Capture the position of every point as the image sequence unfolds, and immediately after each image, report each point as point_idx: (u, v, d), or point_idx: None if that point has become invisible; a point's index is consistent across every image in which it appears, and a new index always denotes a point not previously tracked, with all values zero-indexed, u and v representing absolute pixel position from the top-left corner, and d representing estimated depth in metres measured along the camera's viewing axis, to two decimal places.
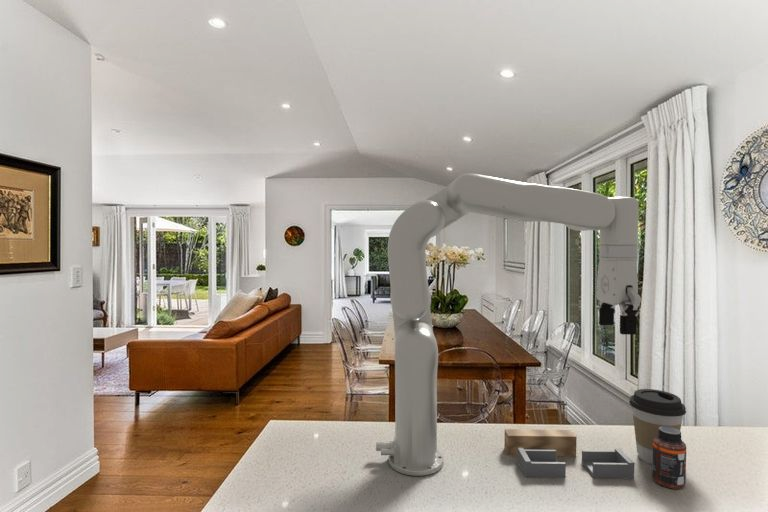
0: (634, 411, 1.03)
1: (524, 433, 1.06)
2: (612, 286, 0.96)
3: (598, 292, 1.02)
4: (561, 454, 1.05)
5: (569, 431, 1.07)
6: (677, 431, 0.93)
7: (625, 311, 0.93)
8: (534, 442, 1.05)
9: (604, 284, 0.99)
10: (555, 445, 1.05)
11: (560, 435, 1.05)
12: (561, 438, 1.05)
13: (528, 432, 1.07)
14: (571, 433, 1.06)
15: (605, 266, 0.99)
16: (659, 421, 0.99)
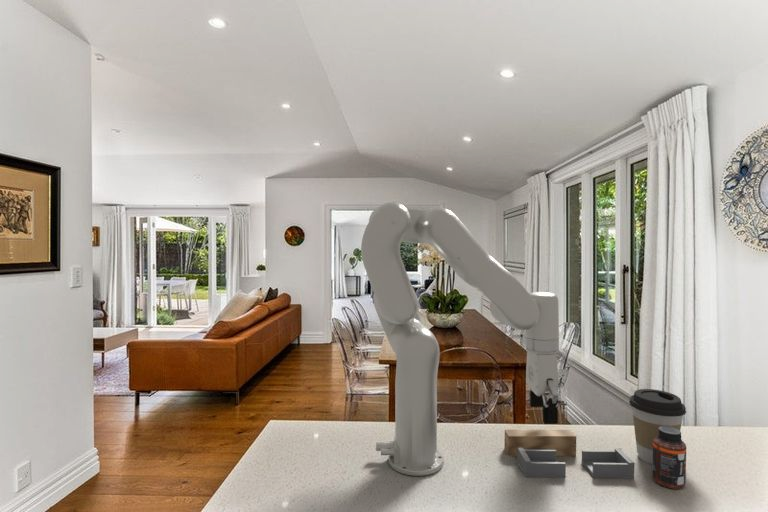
0: (634, 411, 1.03)
1: (524, 433, 1.06)
2: (535, 378, 1.03)
3: (527, 378, 1.09)
4: (561, 454, 1.05)
5: (569, 431, 1.08)
6: (677, 431, 0.93)
7: (546, 403, 1.00)
8: (534, 442, 1.05)
9: (530, 373, 1.06)
10: (556, 445, 1.05)
11: (560, 435, 1.05)
12: (561, 438, 1.05)
13: (528, 432, 1.07)
14: (571, 433, 1.06)
15: (530, 357, 1.06)
16: (659, 421, 0.99)
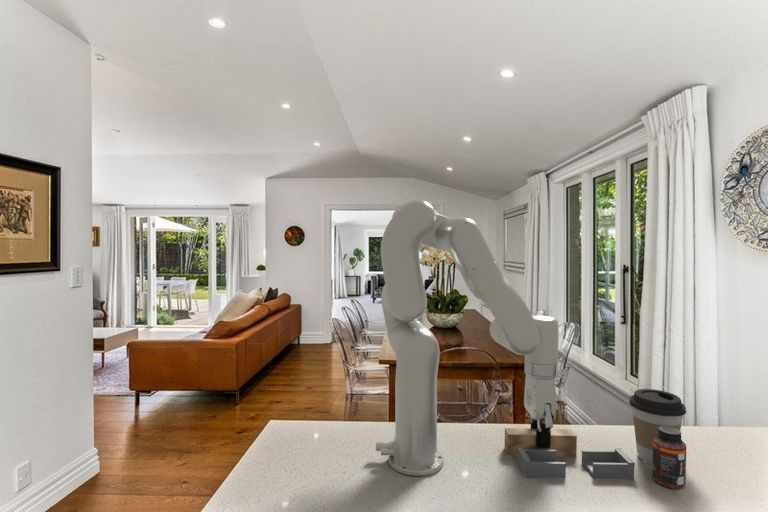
0: (634, 411, 1.03)
1: (524, 432, 1.06)
2: (533, 402, 1.03)
3: (525, 400, 1.10)
4: (561, 453, 1.05)
5: (569, 430, 1.07)
6: (677, 431, 0.93)
7: (540, 429, 1.03)
8: (534, 441, 1.05)
9: (528, 396, 1.07)
10: (556, 444, 1.05)
11: (560, 434, 1.05)
12: (561, 438, 1.05)
13: (528, 431, 1.07)
14: (571, 432, 1.06)
15: (529, 380, 1.06)
16: (659, 420, 0.99)
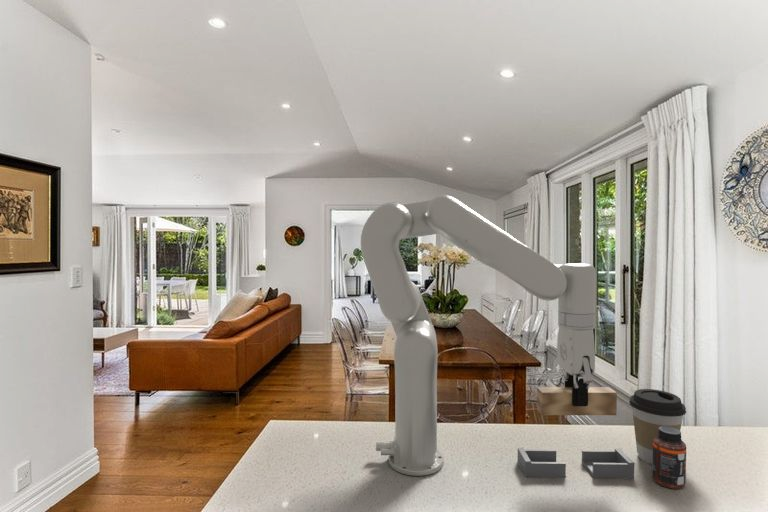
0: (634, 411, 1.03)
1: (559, 390, 0.98)
2: (569, 355, 0.94)
3: (558, 357, 1.01)
4: (600, 412, 0.96)
5: (607, 388, 0.99)
6: (677, 431, 0.93)
7: (577, 385, 0.95)
8: (570, 399, 0.96)
9: (562, 351, 0.98)
10: (594, 403, 0.96)
11: (599, 392, 0.96)
12: (600, 395, 0.96)
13: (563, 389, 0.98)
14: (610, 390, 0.98)
15: (563, 333, 0.97)
16: (659, 421, 0.99)
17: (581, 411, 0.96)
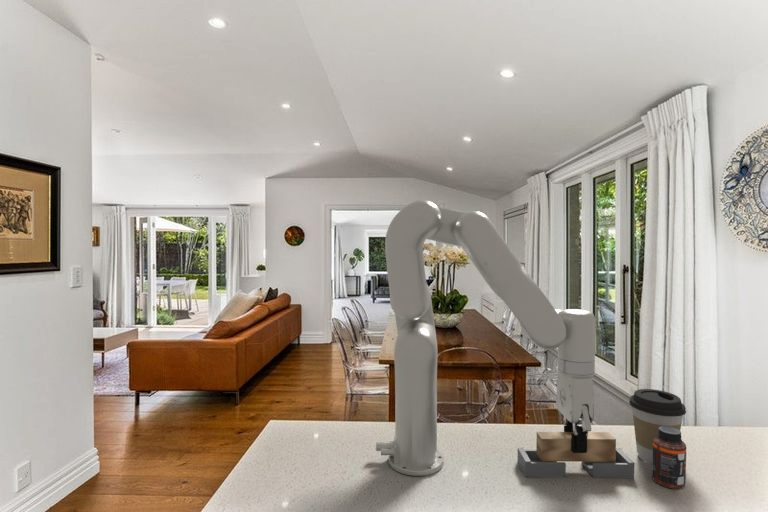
0: (634, 411, 1.03)
1: (558, 436, 0.98)
2: (569, 403, 0.95)
3: (557, 401, 1.01)
4: (599, 459, 0.97)
5: (607, 433, 0.99)
6: (677, 431, 0.93)
7: (576, 433, 0.95)
8: (570, 445, 0.97)
9: (562, 397, 0.98)
10: (593, 449, 0.97)
11: (598, 438, 0.97)
12: (599, 441, 0.97)
13: (562, 435, 0.99)
14: (609, 435, 0.98)
15: (562, 379, 0.98)
16: (659, 420, 0.99)
17: (580, 457, 0.97)
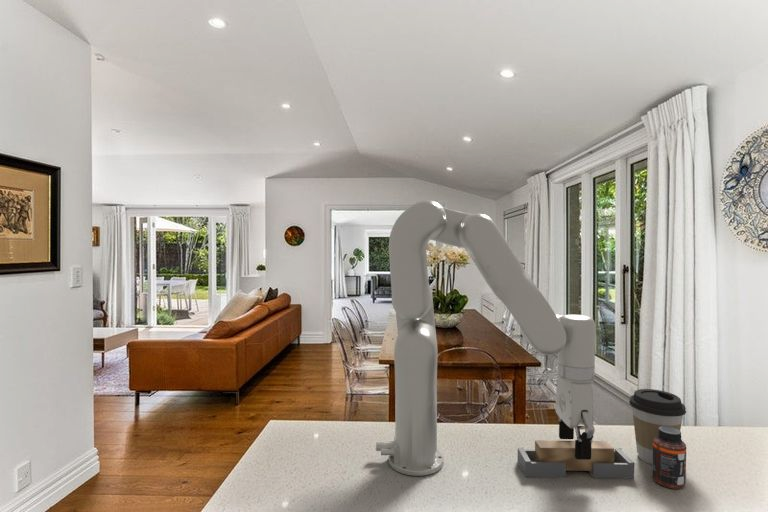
0: (634, 411, 1.03)
1: (557, 445, 0.98)
2: (568, 408, 0.95)
3: (557, 406, 1.01)
4: None
5: (605, 442, 0.99)
6: (677, 431, 0.93)
7: (580, 437, 0.93)
8: (568, 454, 0.97)
9: (561, 402, 0.98)
10: (591, 458, 0.97)
11: (596, 447, 0.97)
12: (597, 451, 0.97)
13: (560, 444, 0.99)
14: (608, 445, 0.98)
15: (562, 385, 0.98)
16: (659, 420, 0.99)
17: (578, 466, 0.97)
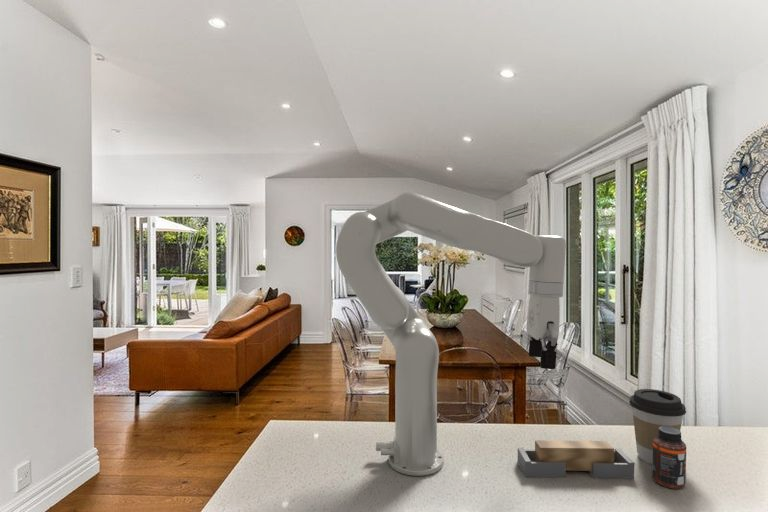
0: (634, 411, 1.03)
1: (557, 445, 0.98)
2: (536, 321, 0.99)
3: (527, 325, 1.06)
4: None
5: (605, 442, 0.99)
6: (677, 431, 0.93)
7: (545, 346, 0.97)
8: (568, 454, 0.97)
9: (531, 318, 1.03)
10: (591, 458, 0.97)
11: (596, 447, 0.97)
12: (597, 451, 0.97)
13: (560, 444, 0.99)
14: (608, 445, 0.98)
15: (532, 301, 1.03)
16: (659, 420, 0.99)
17: (578, 466, 0.97)
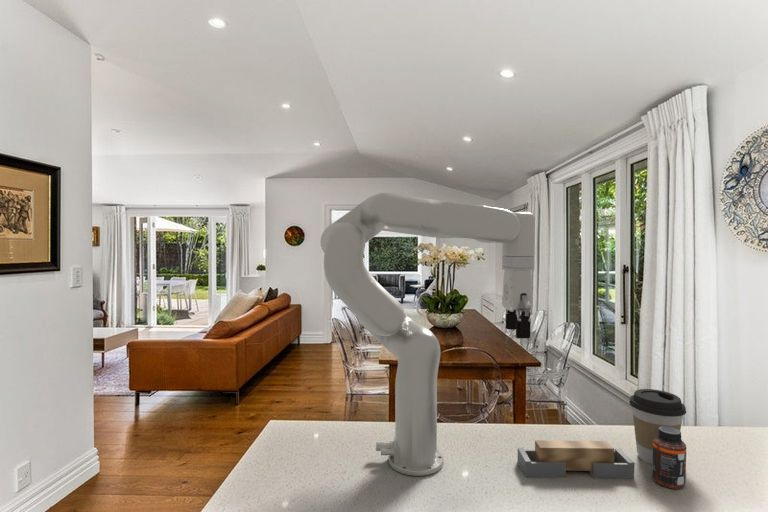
0: (634, 411, 1.03)
1: (557, 445, 0.98)
2: (510, 294, 1.04)
3: (503, 299, 1.11)
4: None
5: (605, 442, 0.99)
6: (677, 431, 0.93)
7: (519, 317, 1.02)
8: (568, 454, 0.97)
9: (505, 292, 1.08)
10: (591, 458, 0.97)
11: (596, 447, 0.97)
12: (597, 451, 0.97)
13: (560, 444, 0.99)
14: (608, 445, 0.98)
15: (506, 276, 1.08)
16: (659, 420, 0.99)
17: (578, 466, 0.97)
